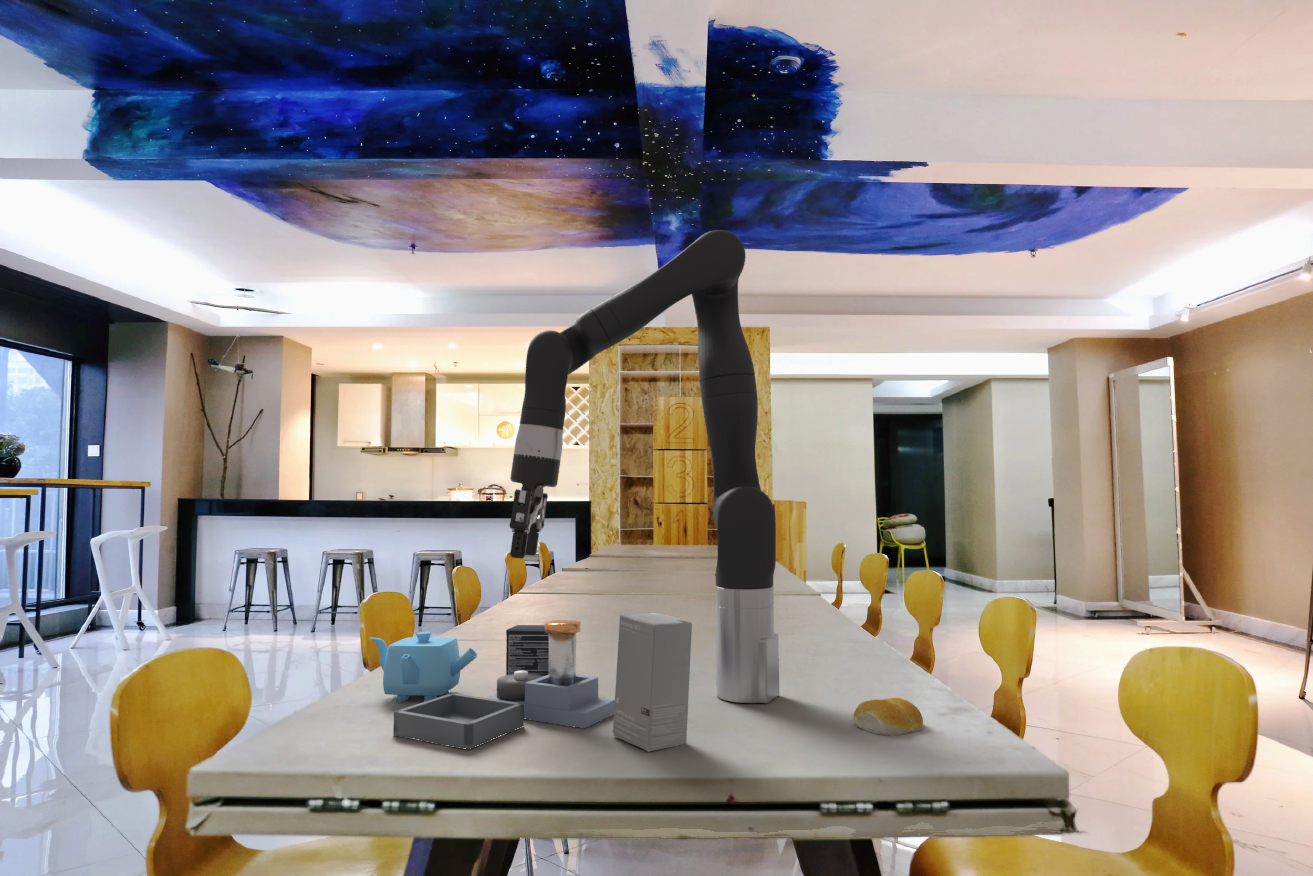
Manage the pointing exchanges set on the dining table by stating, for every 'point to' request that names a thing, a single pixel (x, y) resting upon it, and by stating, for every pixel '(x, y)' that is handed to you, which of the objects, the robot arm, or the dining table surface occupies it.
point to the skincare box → (652, 680)
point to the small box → (527, 649)
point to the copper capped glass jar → (562, 651)
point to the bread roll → (888, 716)
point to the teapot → (421, 665)
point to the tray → (458, 720)
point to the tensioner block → (555, 699)
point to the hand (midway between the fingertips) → (523, 556)
